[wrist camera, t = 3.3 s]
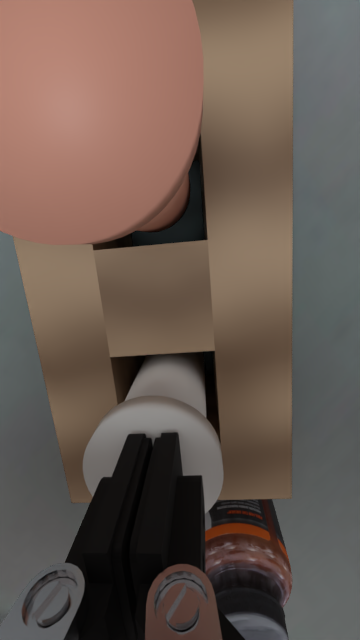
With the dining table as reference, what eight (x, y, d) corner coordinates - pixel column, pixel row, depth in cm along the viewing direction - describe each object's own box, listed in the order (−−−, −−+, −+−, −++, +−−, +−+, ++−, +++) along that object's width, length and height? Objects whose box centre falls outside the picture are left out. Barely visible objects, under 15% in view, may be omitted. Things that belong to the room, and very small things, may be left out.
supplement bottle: (179, 449, 25) (163, 614, 14) (247, 428, 24) (288, 585, 13) (206, 505, 26) (210, 696, 15) (272, 486, 25) (327, 675, 14)
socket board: (261, 413, 23) (291, 498, 16) (112, 420, 24) (71, 502, 17) (247, -133, 16) (294, -505, 8) (27, -90, 17) (-124, -381, 9)
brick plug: (204, 238, 15) (213, 231, 5) (108, 247, 15) (-57, 257, 5) (196, 127, 13) (189, -169, 4) (93, 140, 14) (-156, -96, 4)
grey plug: (214, 391, 20) (227, 529, 11) (144, 395, 21) (94, 530, 11) (209, 323, 19) (219, 407, 9) (135, 328, 19) (71, 414, 10)
